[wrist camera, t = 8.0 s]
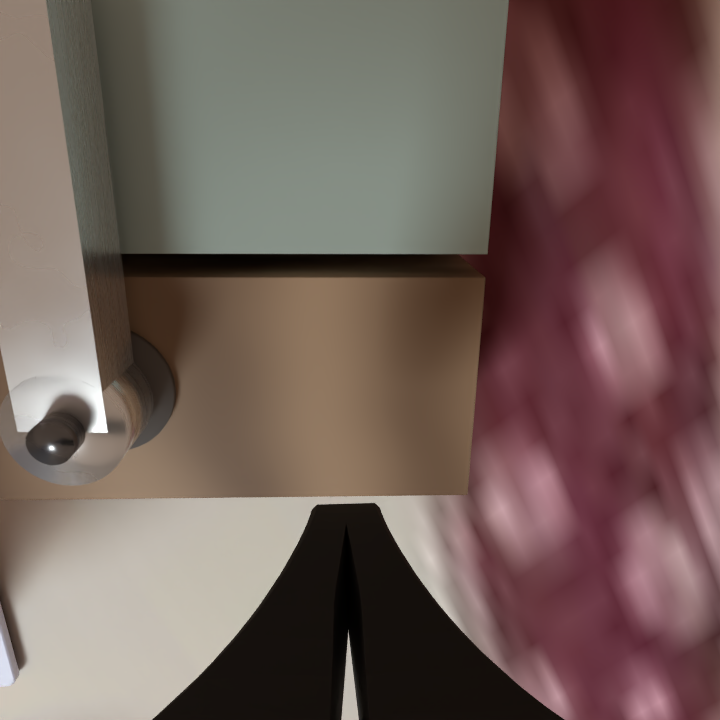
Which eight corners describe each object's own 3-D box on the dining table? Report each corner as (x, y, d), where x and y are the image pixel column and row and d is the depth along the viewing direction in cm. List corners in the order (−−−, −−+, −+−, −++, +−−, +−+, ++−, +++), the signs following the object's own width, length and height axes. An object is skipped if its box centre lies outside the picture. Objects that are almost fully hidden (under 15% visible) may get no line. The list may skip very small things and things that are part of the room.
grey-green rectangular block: (-2, 228, 18) (-212, 272, 11) (-49, 3, 16) (-345, -113, 9) (451, 230, 19) (515, 272, 12) (464, 11, 17) (552, -95, 10)
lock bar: (159, 445, 15) (122, 500, 13) (52, 443, 15) (-4, 500, 12) (106, -34, 11) (41, -86, 9) (-36, -39, 11) (-141, -95, 9)
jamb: (39, 423, 21) (-56, 505, 16) (2, 247, 19) (-121, 279, 14) (439, 420, 21) (469, 499, 16) (450, 248, 19) (487, 279, 14)
